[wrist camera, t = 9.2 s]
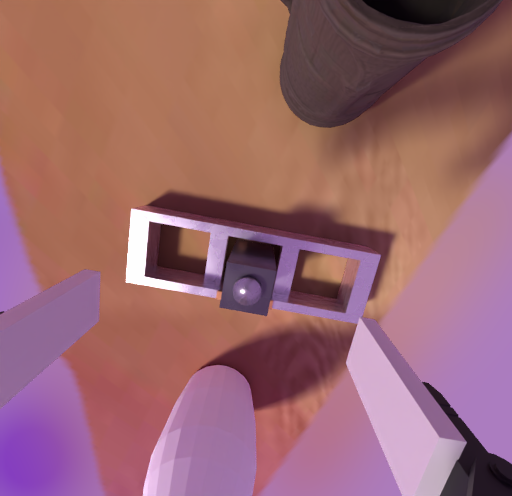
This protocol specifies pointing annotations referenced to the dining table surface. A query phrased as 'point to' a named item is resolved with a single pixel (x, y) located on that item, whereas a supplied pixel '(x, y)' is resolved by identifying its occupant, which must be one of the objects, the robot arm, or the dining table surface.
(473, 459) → the robot arm
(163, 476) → the bottle
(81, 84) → the dining table surface
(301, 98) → the beer stein
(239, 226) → the frame with square openings
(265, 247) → the square peg with dome
